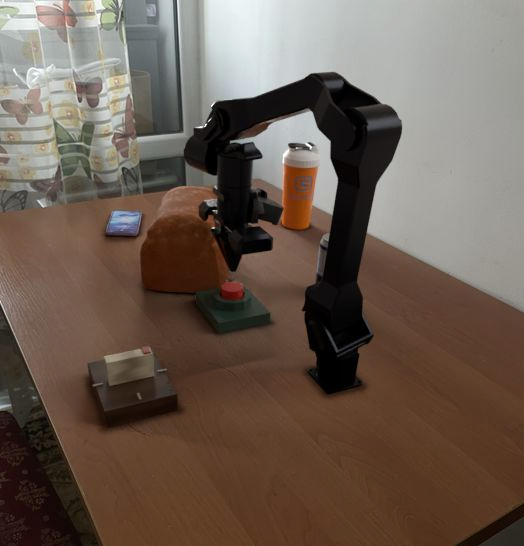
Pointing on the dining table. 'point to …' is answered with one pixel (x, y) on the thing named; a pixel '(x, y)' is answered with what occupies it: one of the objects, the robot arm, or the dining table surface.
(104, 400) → the switch base
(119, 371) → the cream block
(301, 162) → the shaker bottle
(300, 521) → the dining table surface
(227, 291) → the button
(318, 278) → the beverage can
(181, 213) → the bread
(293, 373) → the dining table surface
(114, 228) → the smartphone
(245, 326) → the block
